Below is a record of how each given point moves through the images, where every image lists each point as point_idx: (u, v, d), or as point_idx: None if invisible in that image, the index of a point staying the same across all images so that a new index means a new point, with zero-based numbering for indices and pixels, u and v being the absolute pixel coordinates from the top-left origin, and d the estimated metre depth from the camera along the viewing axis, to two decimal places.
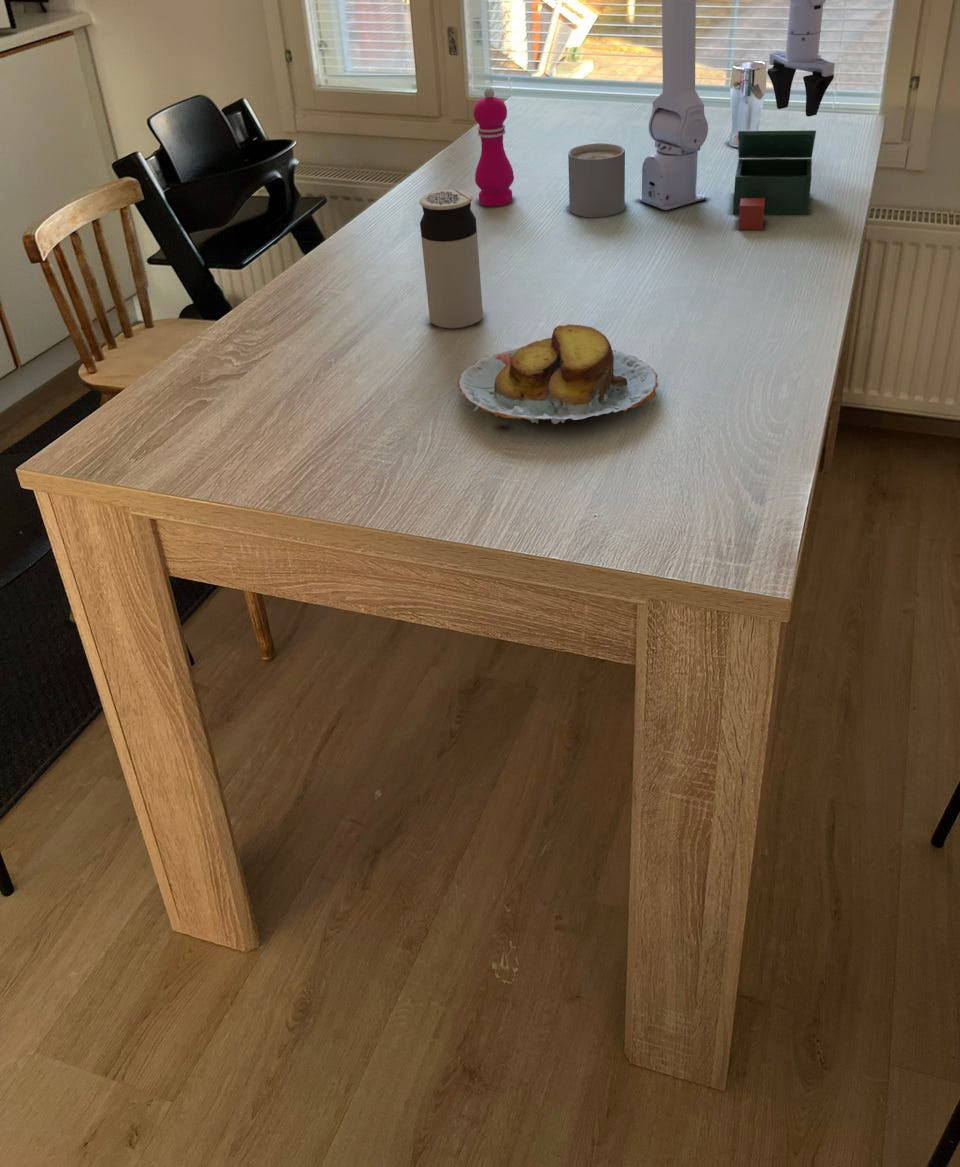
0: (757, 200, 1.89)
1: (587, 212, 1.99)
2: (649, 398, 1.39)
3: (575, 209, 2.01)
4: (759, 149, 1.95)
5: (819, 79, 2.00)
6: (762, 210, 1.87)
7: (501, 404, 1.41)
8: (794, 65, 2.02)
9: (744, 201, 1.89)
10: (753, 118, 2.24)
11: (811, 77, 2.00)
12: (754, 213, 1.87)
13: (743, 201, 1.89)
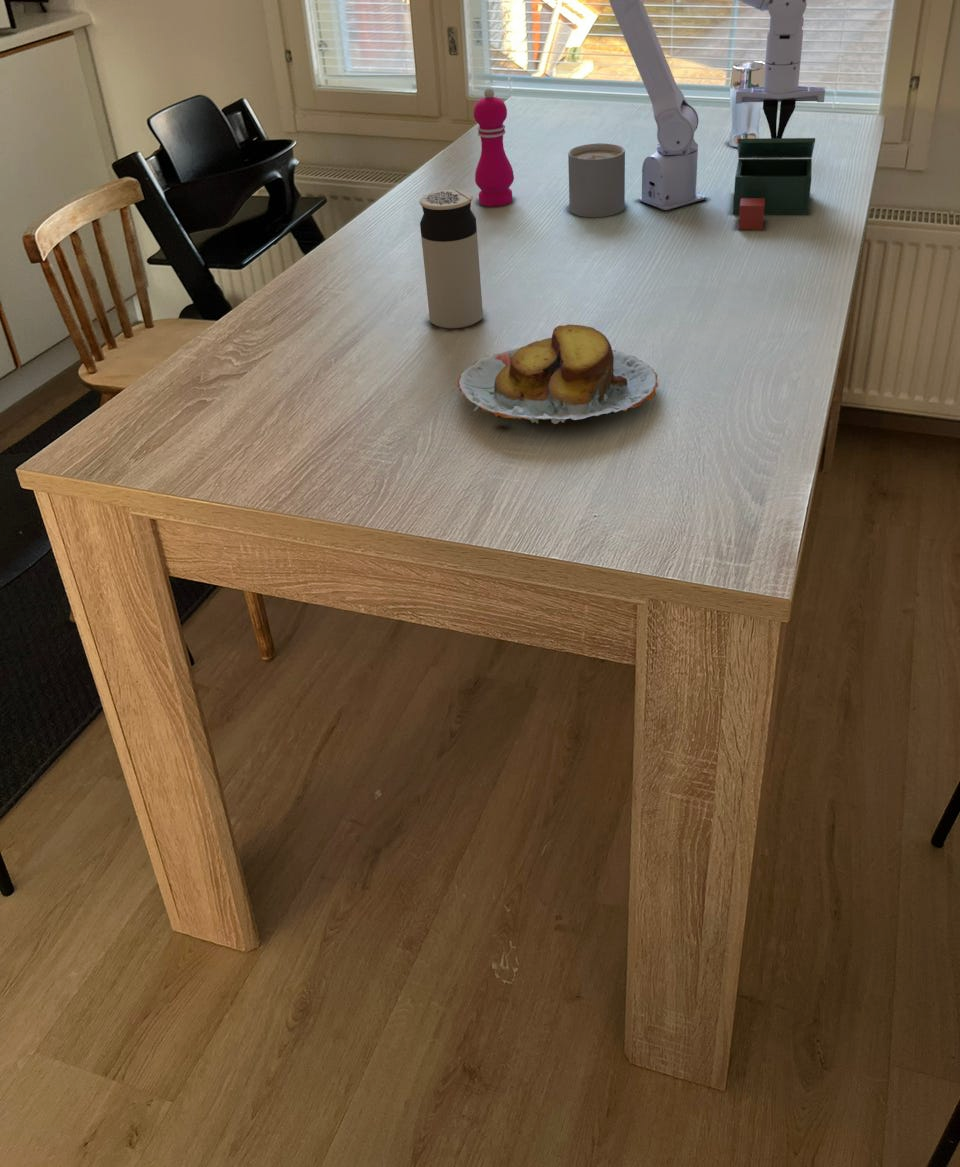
0: (757, 200, 1.89)
1: (587, 212, 1.99)
2: (649, 398, 1.39)
3: (575, 209, 2.01)
4: (759, 152, 1.95)
5: None
6: (762, 210, 1.87)
7: (501, 404, 1.41)
8: (787, 97, 1.87)
9: (744, 201, 1.89)
10: (753, 118, 2.24)
11: (789, 106, 1.88)
12: (754, 213, 1.87)
13: (743, 201, 1.89)
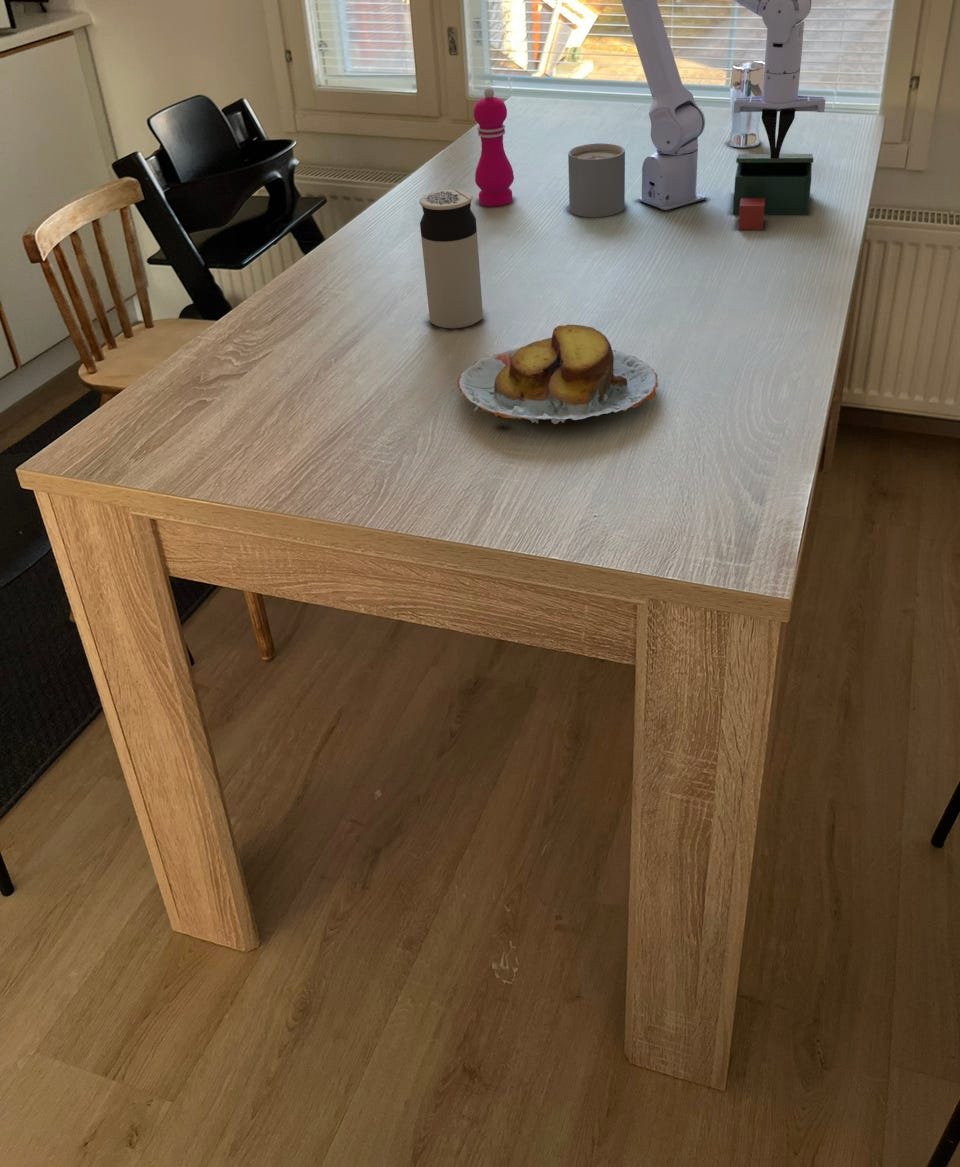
0: (757, 200, 1.89)
1: (587, 212, 1.99)
2: (649, 398, 1.39)
3: (575, 209, 2.01)
4: None
5: None
6: (762, 210, 1.87)
7: (501, 404, 1.41)
8: (786, 107, 1.82)
9: (744, 201, 1.89)
10: (753, 118, 2.24)
11: (788, 115, 1.84)
12: (754, 213, 1.87)
13: (743, 201, 1.89)
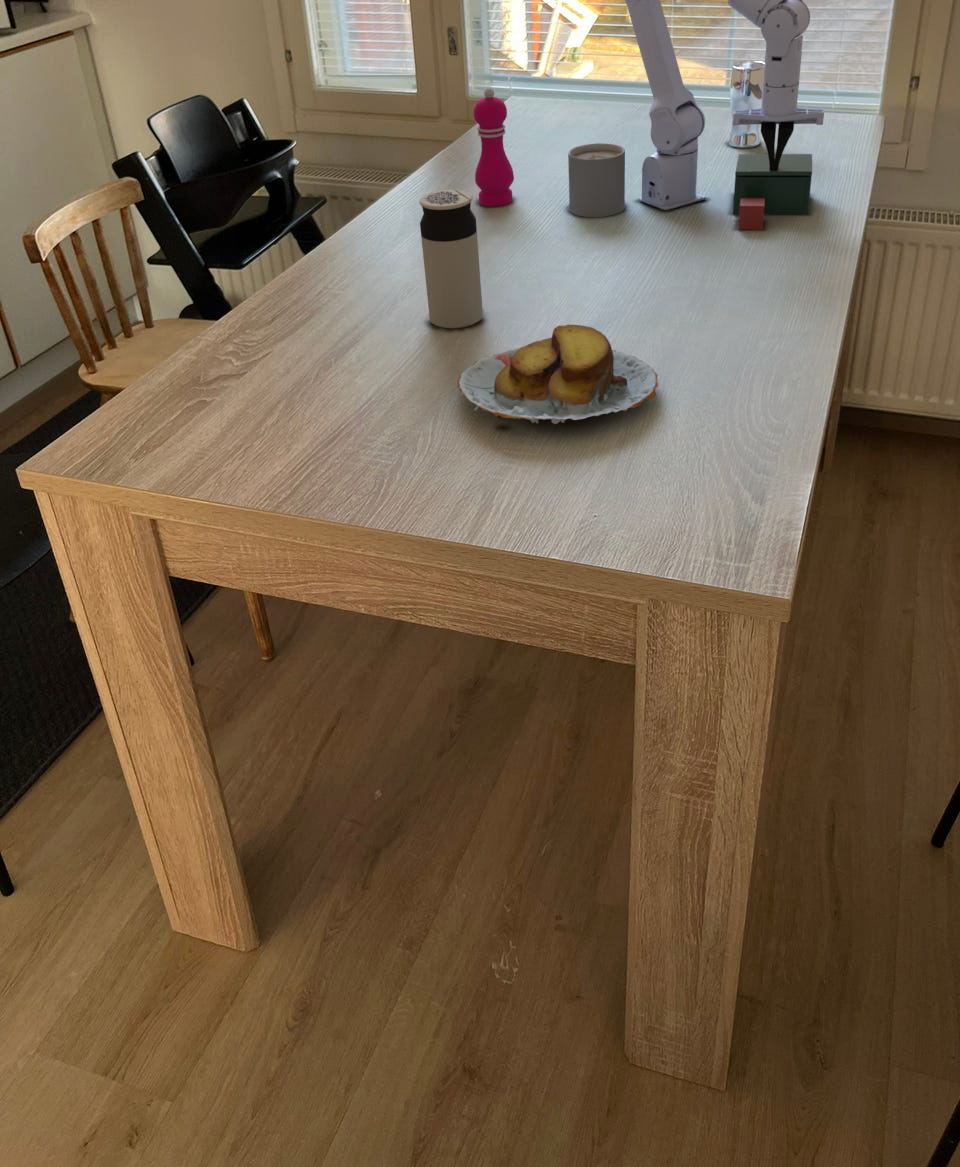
0: (757, 200, 1.89)
1: (587, 212, 1.99)
2: (649, 398, 1.39)
3: (575, 209, 2.01)
4: None
5: None
6: (762, 210, 1.87)
7: (501, 404, 1.41)
8: (785, 119, 1.84)
9: (744, 201, 1.89)
10: None
11: (787, 128, 1.85)
12: (754, 213, 1.87)
13: (743, 201, 1.89)
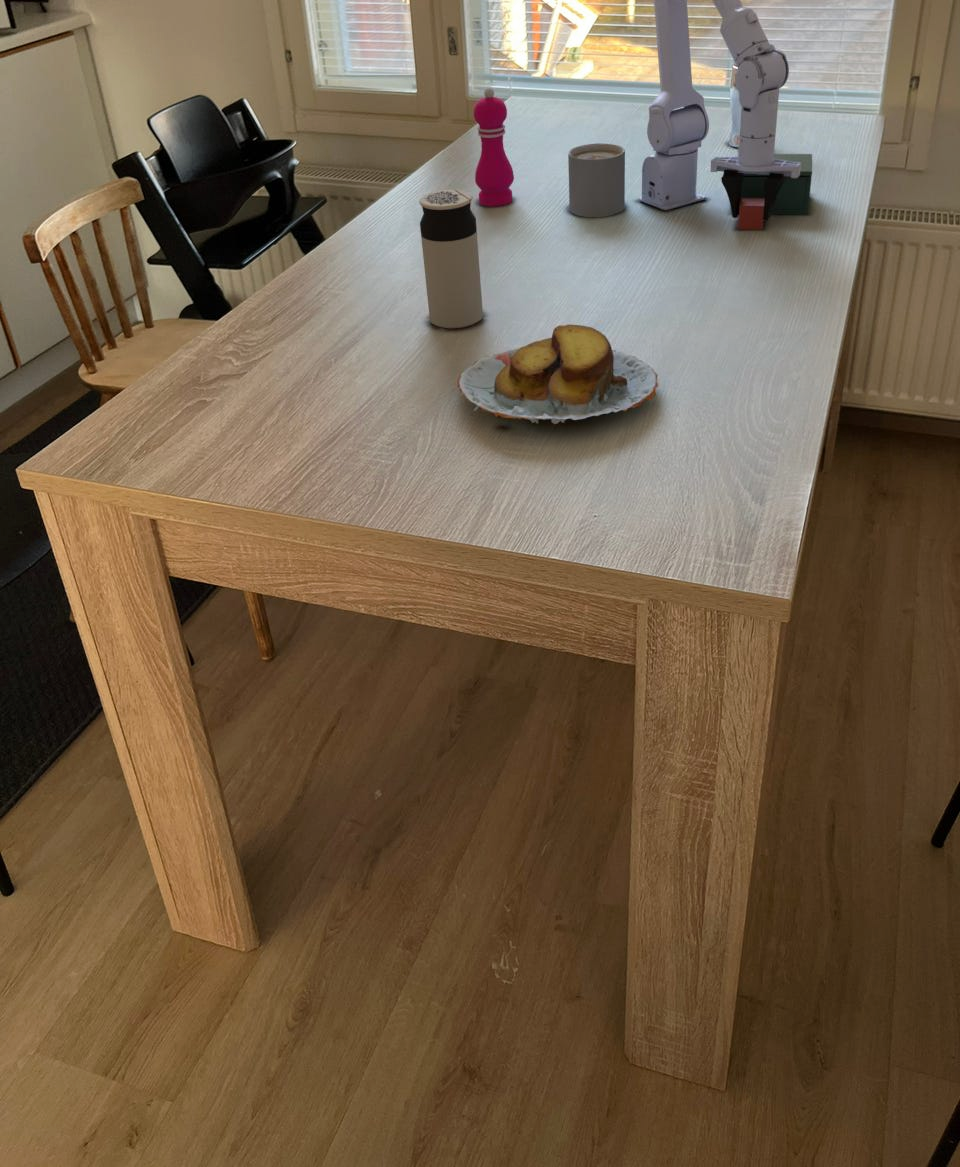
0: (757, 200, 1.89)
1: (587, 212, 1.99)
2: (649, 398, 1.39)
3: (575, 209, 2.01)
4: None
5: (781, 181, 1.83)
6: (762, 210, 1.87)
7: (501, 404, 1.41)
8: (757, 170, 1.82)
9: (744, 201, 1.89)
10: None
11: (774, 180, 1.82)
12: (754, 213, 1.87)
13: (743, 201, 1.89)
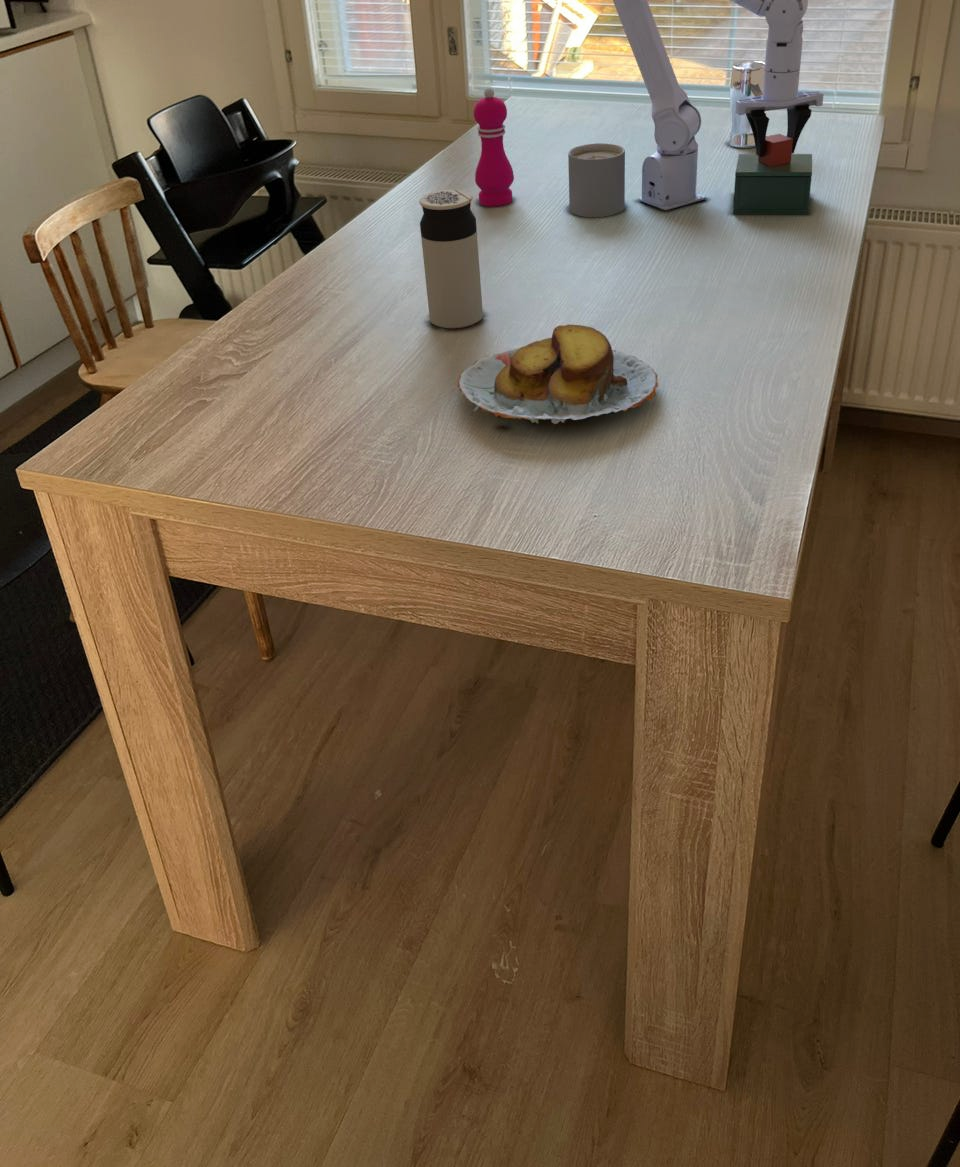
0: (778, 136, 1.92)
1: (587, 212, 1.99)
2: (649, 398, 1.39)
3: (575, 209, 2.01)
4: None
5: None
6: (791, 143, 1.91)
7: (501, 404, 1.41)
8: (792, 103, 1.86)
9: (768, 138, 1.92)
10: None
11: (806, 110, 1.88)
12: (785, 148, 1.91)
13: (768, 139, 1.92)
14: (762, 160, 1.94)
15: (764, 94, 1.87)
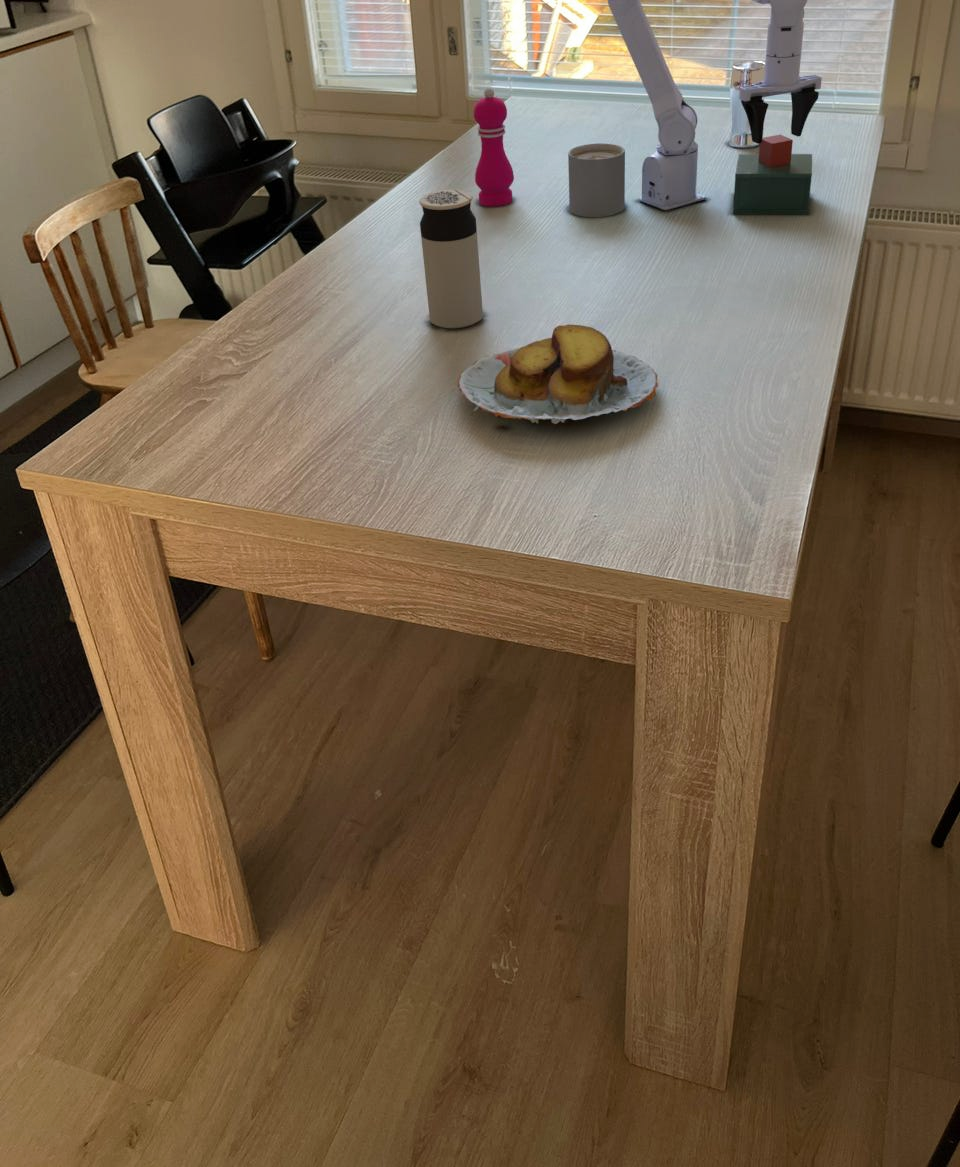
0: (779, 137, 1.93)
1: (587, 212, 1.99)
2: (649, 398, 1.39)
3: (575, 209, 2.01)
4: None
5: None
6: (791, 144, 1.91)
7: (501, 404, 1.41)
8: (796, 87, 1.88)
9: (768, 139, 1.92)
10: None
11: (814, 93, 1.90)
12: (784, 149, 1.91)
13: (767, 140, 1.92)
14: (762, 161, 1.94)
15: (767, 79, 1.88)
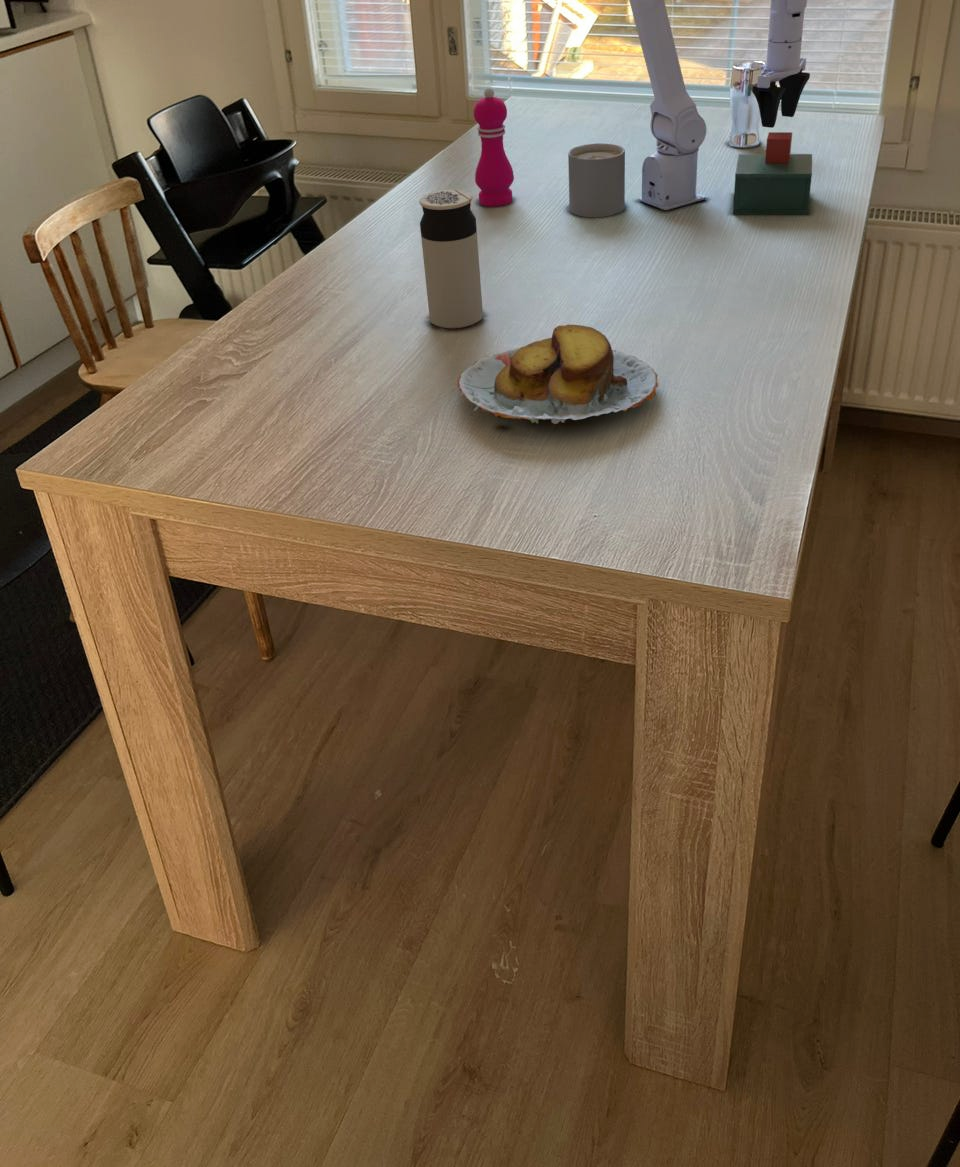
0: (784, 134, 1.94)
1: (587, 212, 1.99)
2: (649, 398, 1.39)
3: (575, 209, 2.01)
4: None
5: None
6: (789, 143, 1.92)
7: (501, 404, 1.41)
8: (800, 70, 1.97)
9: (772, 134, 1.94)
10: (753, 118, 2.24)
11: (806, 74, 2.01)
12: (781, 146, 1.93)
13: (770, 135, 1.94)
14: None
15: (776, 65, 1.96)
